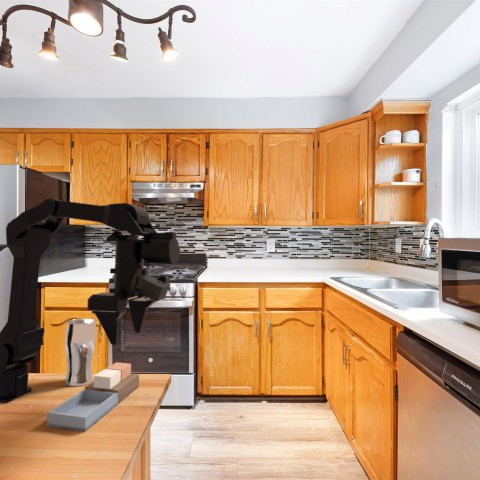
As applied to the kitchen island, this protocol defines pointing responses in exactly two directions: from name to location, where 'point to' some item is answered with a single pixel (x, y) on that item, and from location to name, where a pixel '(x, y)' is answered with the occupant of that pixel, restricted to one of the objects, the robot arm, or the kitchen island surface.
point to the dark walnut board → (121, 387)
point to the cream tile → (107, 379)
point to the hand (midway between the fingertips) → (126, 338)
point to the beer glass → (79, 350)
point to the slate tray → (82, 410)
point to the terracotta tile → (121, 369)
